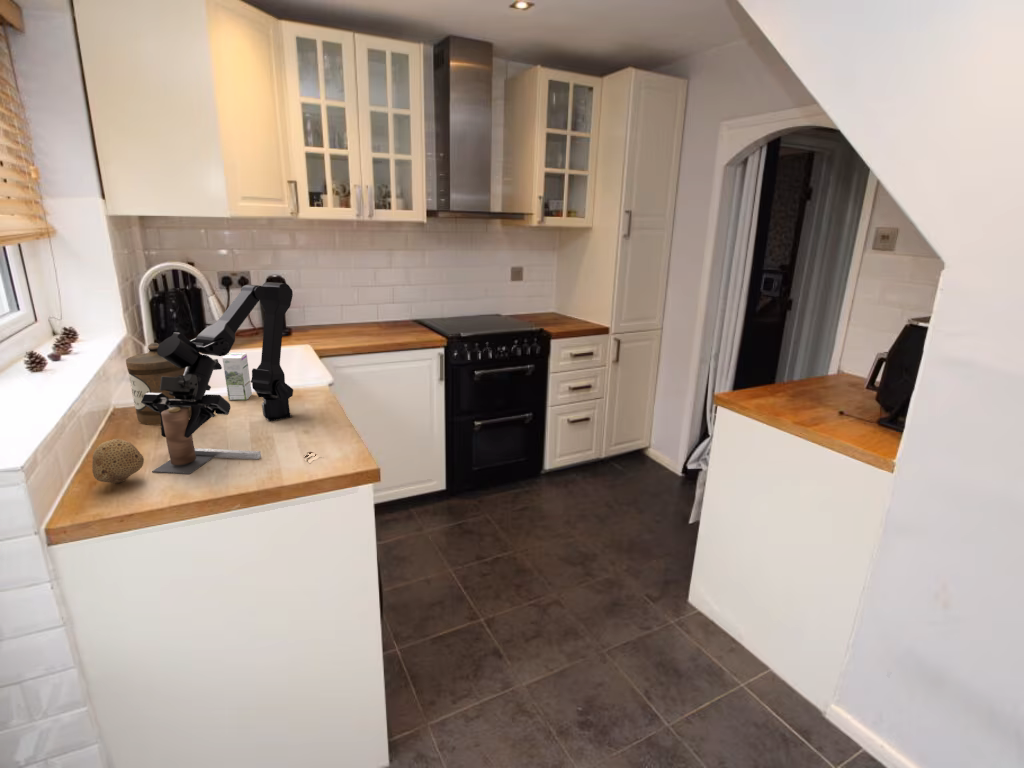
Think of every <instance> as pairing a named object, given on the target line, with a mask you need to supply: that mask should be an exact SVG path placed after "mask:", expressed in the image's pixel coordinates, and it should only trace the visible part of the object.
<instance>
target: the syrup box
mask: <svg viewBox="0 0 1024 768" xmlns="http://www.w3.org/2000/svg"><path fill="white" fill-rule="evenodd" d="M222 365H223V366H222V367H223V373H224V378H225V379H224V380H225V385H226V392H227V398H228V401H247V400H248V399H249V397H250V396H251V395H252V396H253V391H252V383H251V377H250V369H249V362H248V355H247V353H246V352H245V353H242V352H241V353H228V354H227V355H225V356H222ZM252 396H251V397H252ZM251 397H250V398H251Z"/></svg>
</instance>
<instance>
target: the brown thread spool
mask: <svg viewBox="0 0 1024 768" xmlns="http://www.w3.org/2000/svg"><path fill="white" fill-rule="evenodd" d="M161 415H162V420H163V425H164V431H165V436H166V437H165V439H166V446H167V451H168V456H169V460H170V461H171V464H173V465H183V464H188V463H190V462H193V461H194V460H195V459H196V455H195V449H194V448H195V443H194V438H193V434H192V435H191V436H190V437H189V438H186V437H185V436H184V435H185V431H186V428H187V425H188V422H189V419H190V418H189V415H188V410H187V408H183V407H173V408H169V409H167V410H164V411H163V412H161Z"/></svg>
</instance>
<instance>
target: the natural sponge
mask: <svg viewBox="0 0 1024 768" xmlns="http://www.w3.org/2000/svg"><path fill="white" fill-rule="evenodd" d="M91 463H92V465H91V466H92V469H91V470H92V476H93V477H94V479H96V481H98V482H103V483H111V484H120V483H123V482H125V481H126V480H128V478H130V477H131V476H133V475H134V474H135V473H137V472H138V471H139V470H141V469H142V468H143V466H144V463H145V459H144V456H143V454H142V453H141V452H140V451H139V450H138V448H137V447H136V446H135V445H134V444H133V443H131V442H130V441H127V440H125V439H122V438H121V439H120V438H114V439H111V440H107V441H103V442H101V443H100V444H99V445H97V447H96V448H95V450H94V452H93V454H92V462H91Z"/></svg>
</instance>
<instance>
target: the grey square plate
mask: <svg viewBox="0 0 1024 768" xmlns="http://www.w3.org/2000/svg"><path fill="white" fill-rule="evenodd" d="M213 458H214V457H211V456H196V459H195V460H194V461H193V462H190V463H188V464H183V465H173V464H171V461H170V459H168V460H167V461H166V462H165V463H163V464H161V465H160V466H158V467H156V468H155V469H153V470H152V471H151V473H156V474H157V473H158V474H159V473H160V474H174V475H175V474H177V475H178V474H179V475H191V474H192V473H193V472H195V471H196V470H198V469H199V468H200V467H202V466H204V465H205V464H206V463H208V462H209V461H210V460H212V459H213ZM207 461H208V462H207ZM203 464H204V465H203ZM190 473H191V474H190Z"/></svg>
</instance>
